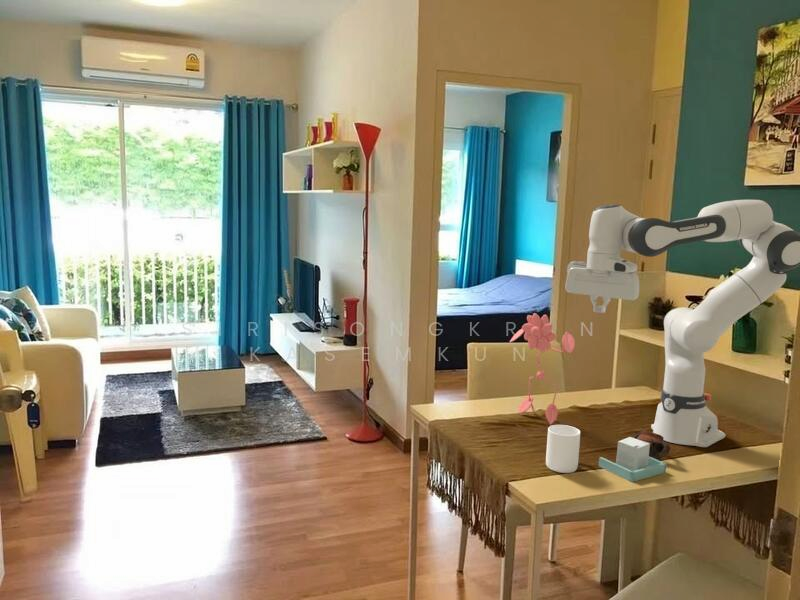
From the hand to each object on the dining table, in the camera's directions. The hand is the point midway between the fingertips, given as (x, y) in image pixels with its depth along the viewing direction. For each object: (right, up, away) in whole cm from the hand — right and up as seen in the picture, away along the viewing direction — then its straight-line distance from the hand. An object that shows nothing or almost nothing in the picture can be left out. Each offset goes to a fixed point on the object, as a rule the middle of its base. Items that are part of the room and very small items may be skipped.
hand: (599, 312), depth 182 cm
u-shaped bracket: (+5, -41, -11) cm, 43 cm away
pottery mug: (+13, -41, -2) cm, 43 cm away
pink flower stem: (-14, -35, +25) cm, 46 cm away
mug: (-12, -41, -10) cm, 44 cm away
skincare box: (+6, -42, -10) cm, 43 cm away
